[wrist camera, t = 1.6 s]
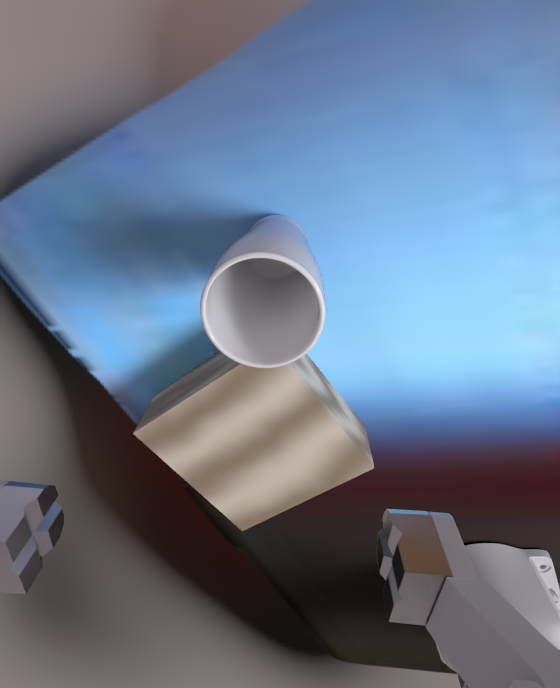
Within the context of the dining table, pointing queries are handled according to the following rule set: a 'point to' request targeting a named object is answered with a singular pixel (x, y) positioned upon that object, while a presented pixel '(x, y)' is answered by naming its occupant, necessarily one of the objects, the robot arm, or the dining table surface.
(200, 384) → the birch block
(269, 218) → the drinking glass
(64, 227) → the dining table surface
